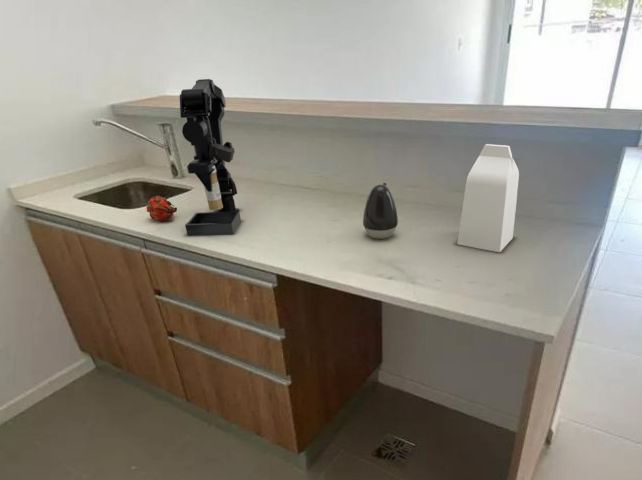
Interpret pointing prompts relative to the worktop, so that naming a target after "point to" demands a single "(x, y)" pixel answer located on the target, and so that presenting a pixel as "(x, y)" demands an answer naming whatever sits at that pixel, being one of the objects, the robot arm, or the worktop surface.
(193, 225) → the rectangular frame
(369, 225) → the black egg-shaped piece
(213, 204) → the sprinkles bottle
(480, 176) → the milk
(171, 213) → the dragon fruit
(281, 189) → the worktop surface
